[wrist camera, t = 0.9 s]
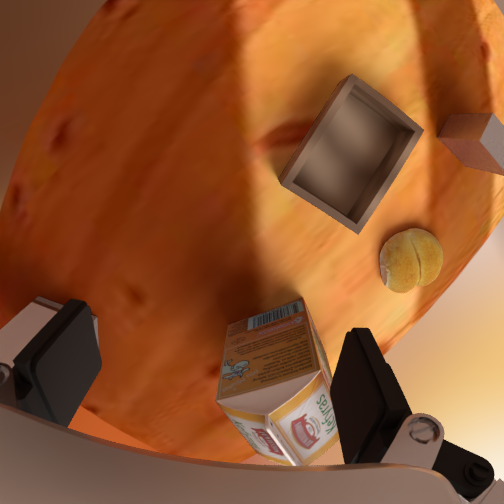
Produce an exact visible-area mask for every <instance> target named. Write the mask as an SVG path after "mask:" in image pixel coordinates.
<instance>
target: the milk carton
mask: <svg viewBox="0 0 504 504" xmlns="http://www.w3.org/2000/svg"><path fill="white" fill-rule="evenodd" d="M332 379H333V378H332V374H331V370H330V367H329V363H328V359H327V356H326V353H325V351H324V348H323V346H322V343H321V340H320V338H319V335H318V333H317V330H316V328H315V325H314V323H313V321H312V318H311V316H310V313H309V311H308V308H307V306H306V303H305V301H304V298H300V299H298V300H295V301H293V302H290V303H287V304H285V305H282V306H279V307H277V308H274V309H271V310H268V311H266V312H263V313H260V314H257V315H255V316H252V317H249V318H246V319H243V320H240V321H238V322H235V323H232V324H229V325H228V327H227V333H226V339H225V345H224V352H223V358H222V364H221V370H220V376H219V382H218V388H217V395H216V402H217V404H218V405H219V406H220V408H221V409H222V410H223V412H224V413H225V414H226V415H227V417H228V418H229V419H230V421H231V422H232V423H233V424H234V426H235V427H236V428H237V429H238V431H239V432H240V433H241V434H242V436H243V437H244V438H245V439H246V440H247V442H248V443H249V444H250V445H251V446H252V448H253V449H254V450H255V451H256V452H257V454H259V455H261V456H262V457H264V458H266V459H268V460H270V461H274V462H276V463H279V464H283V465H287V466H308V465H309V464H311V463H312V462H313V461H315V460H316V459H317V458H319V457H320V456H321V455H323V454H324V453H325V452H326V451H327V450H328V449H329V448H331V447H332V446H333V445H334V444H335V443H336V442H337V441H338V440H339V434H338V429H337V424H336V420H335V415H334V411H333V406H332V402H331V397H330V386H331V382H332Z"/></svg>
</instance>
